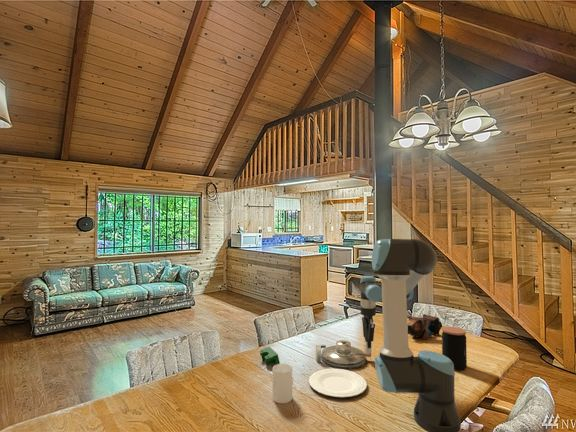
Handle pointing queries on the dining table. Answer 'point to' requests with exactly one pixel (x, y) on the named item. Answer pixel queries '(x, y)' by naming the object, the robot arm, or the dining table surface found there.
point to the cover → (343, 349)
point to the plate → (337, 383)
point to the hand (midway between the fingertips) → (368, 353)
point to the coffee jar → (455, 346)
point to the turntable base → (319, 358)
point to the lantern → (424, 326)
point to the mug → (282, 383)
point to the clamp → (269, 356)
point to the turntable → (354, 359)
